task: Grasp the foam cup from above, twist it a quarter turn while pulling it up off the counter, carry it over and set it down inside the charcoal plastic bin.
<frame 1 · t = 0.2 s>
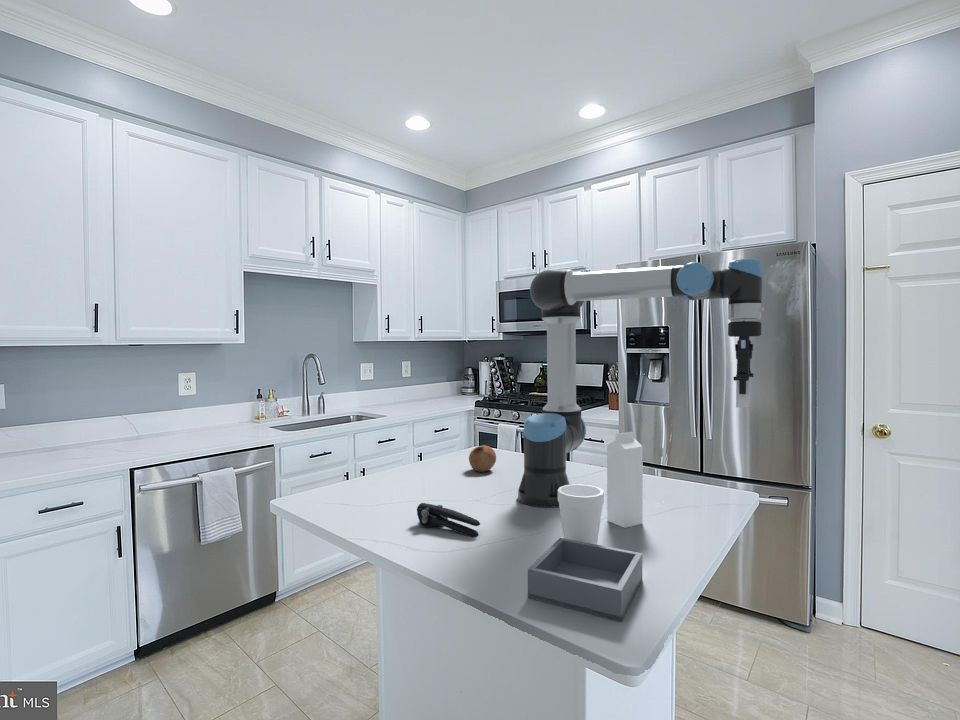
hand: (743, 404, 129), 28 cm above the counter, tool pointing down, fingers open, 13 cm apart
can opener: (447, 530, 120), on the counter
bin: (586, 588, 91), on the counter
foam cup: (580, 552, 107), on the counter
pale carton: (624, 523, 124), on the counter
onion: (482, 471, 175), on the counter
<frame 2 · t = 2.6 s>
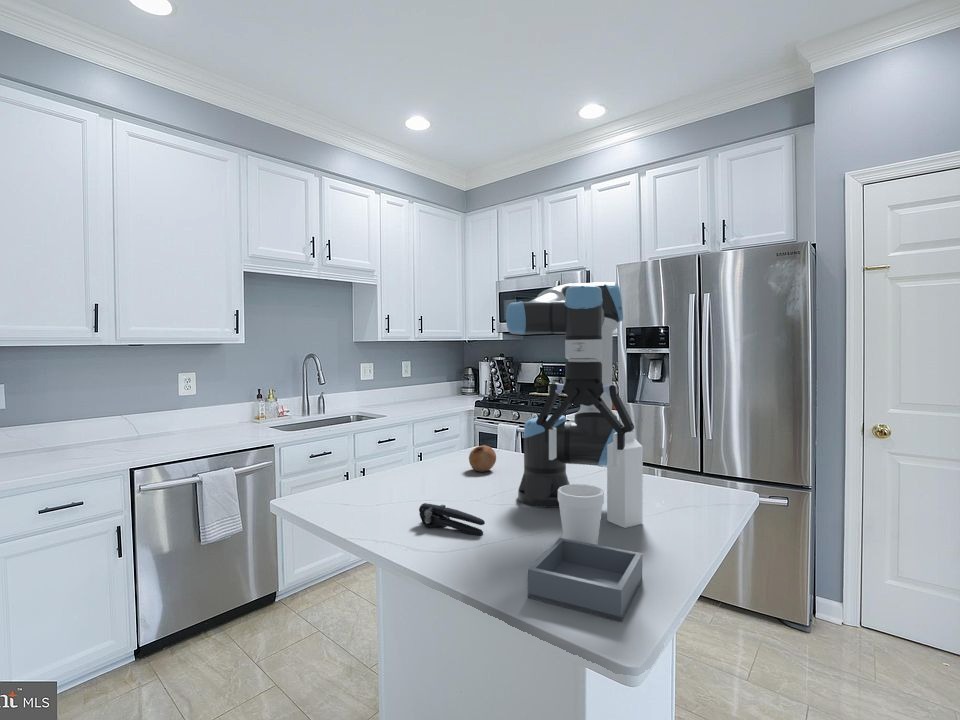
hand: (583, 462, 106), 19 cm above the counter, tool pointing down, fingers open, 13 cm apart
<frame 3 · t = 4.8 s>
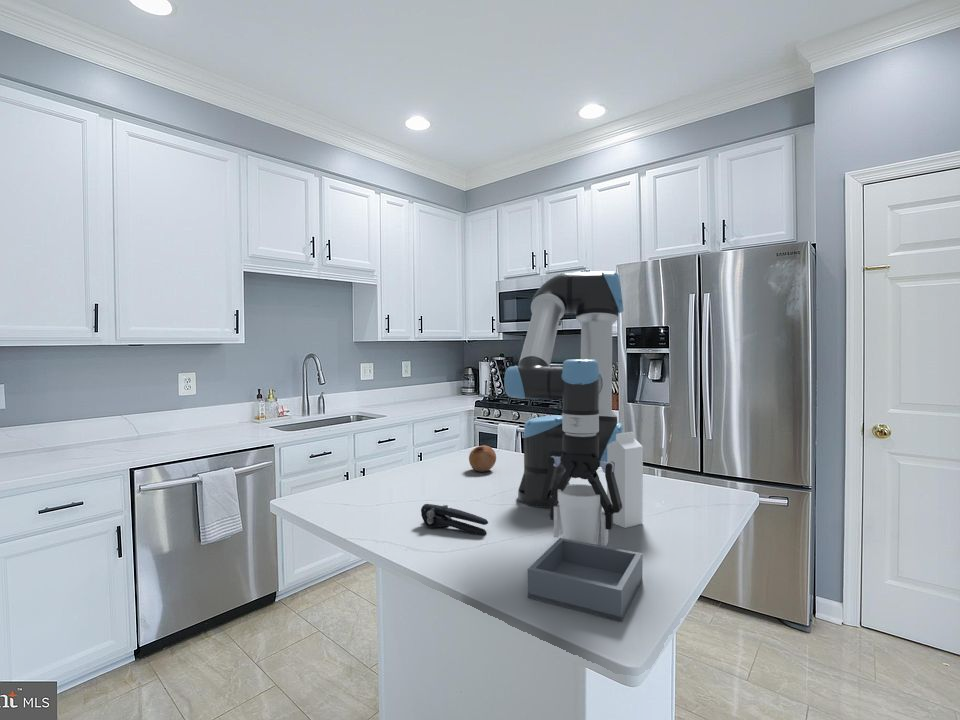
hand: (580, 539, 106), 3 cm above the counter, tool pointing down, fingers closed on foam cup, 9 cm apart
foam cup: (580, 552, 107), on the counter, touching gripper
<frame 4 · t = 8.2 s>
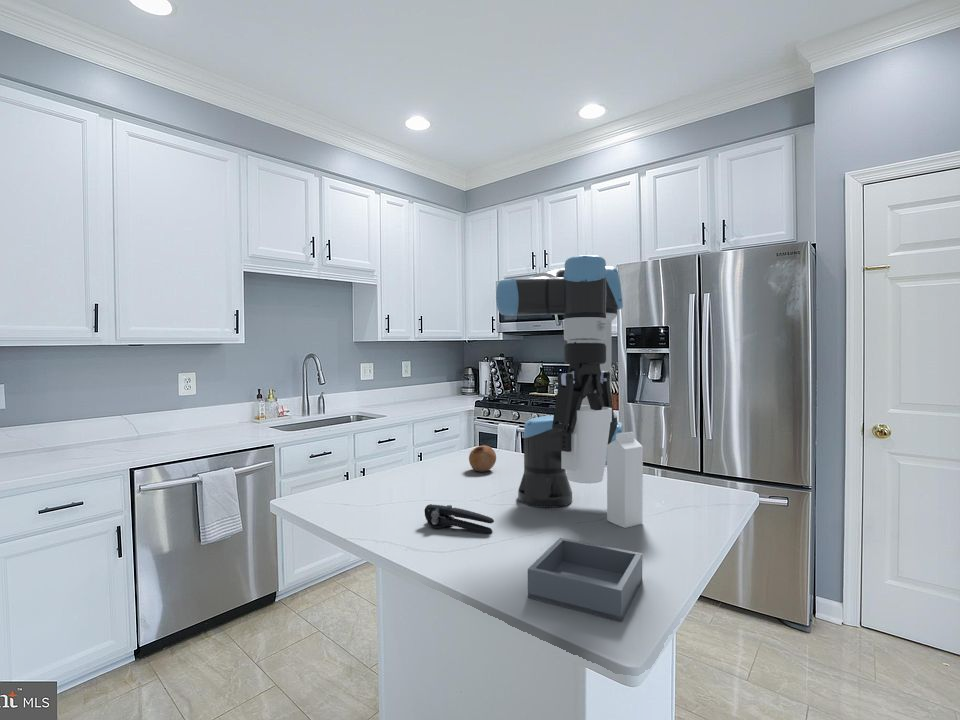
hand: (584, 464, 93), 22 cm above the counter, tool pointing down, fingers closed on foam cup, 9 cm apart
can opener: (458, 530, 121), on the counter
foam cup: (584, 480, 93), point 19 cm above the counter, touching gripper
everything else where it was.
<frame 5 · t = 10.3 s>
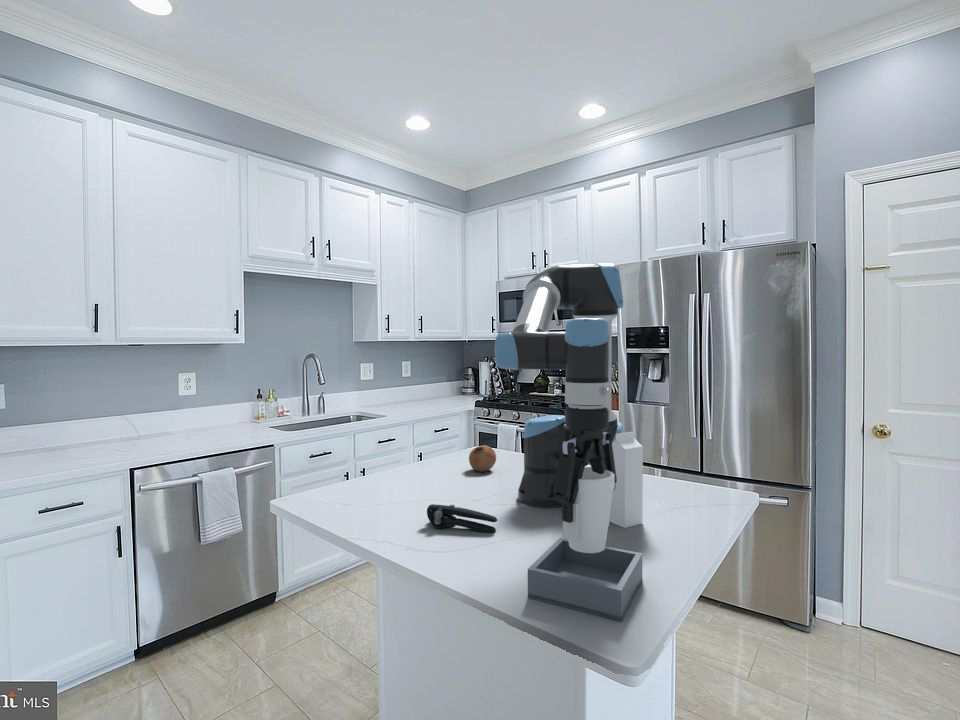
hand: (586, 531, 90), 10 cm above the counter, tool pointing down, fingers closed on foam cup, 9 cm apart
foam cup: (586, 547, 90), point 8 cm above the counter, touching gripper
when the fingers open (6 cm above the counter, at t = 11.7 s): foam cup drops 3 cm, resting on bin.
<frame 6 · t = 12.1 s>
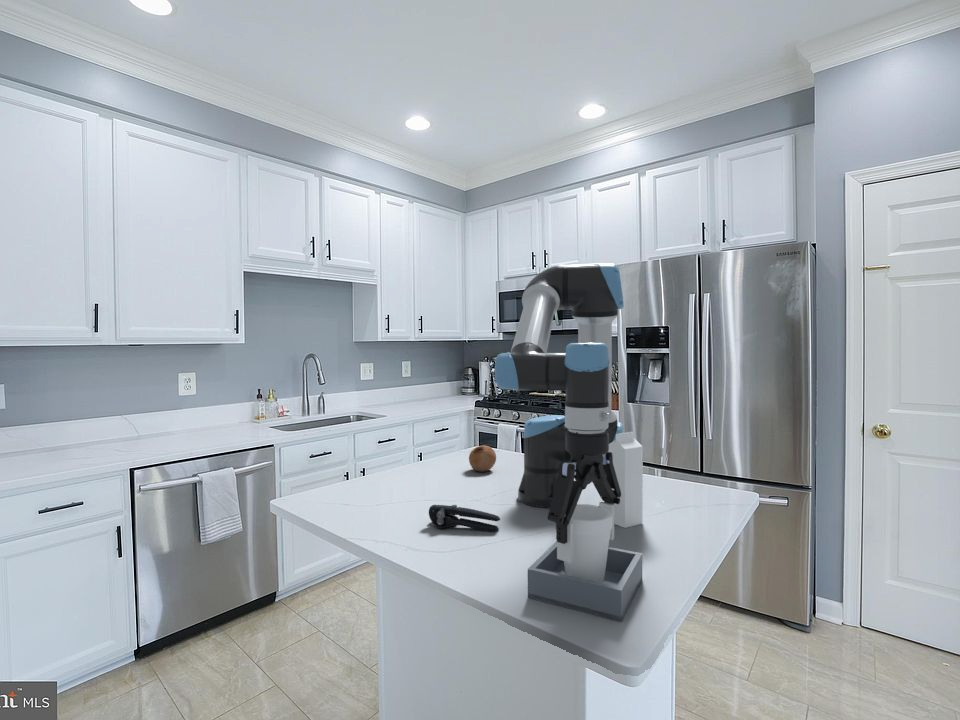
hand: (586, 548, 90), 7 cm above the counter, tool pointing down, fingers open, 13 cm apart
foam cup: (584, 585, 90), point 1 cm above the counter, touching bin
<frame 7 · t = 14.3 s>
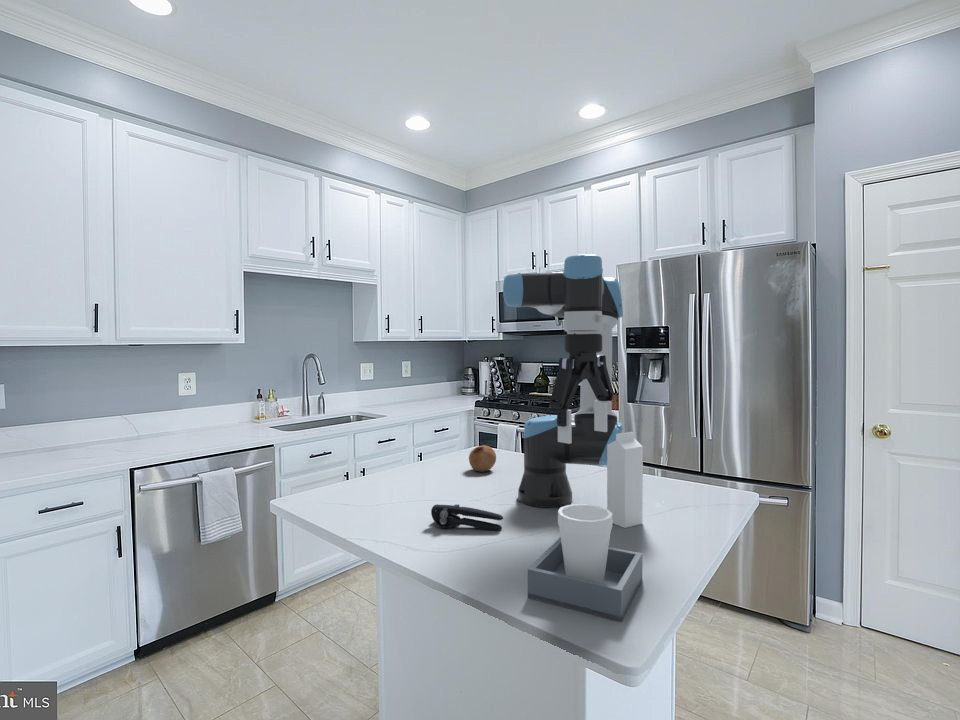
hand: (583, 436, 104), 25 cm above the counter, tool pointing down, fingers open, 13 cm apart
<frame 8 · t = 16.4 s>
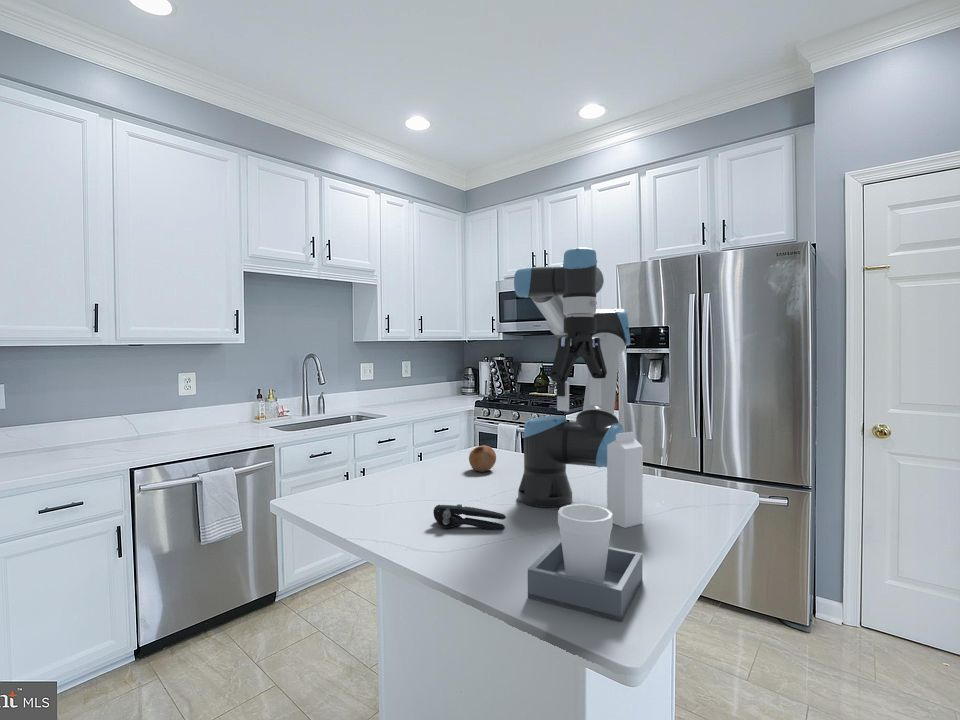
hand: (580, 408, 118), 29 cm above the counter, tool pointing down, fingers open, 13 cm apart
at the end: foam cup inside the target area on the bin (0.5 cm from its centre), point 0.6 cm above the bin's base; the gripper is holding nothing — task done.
